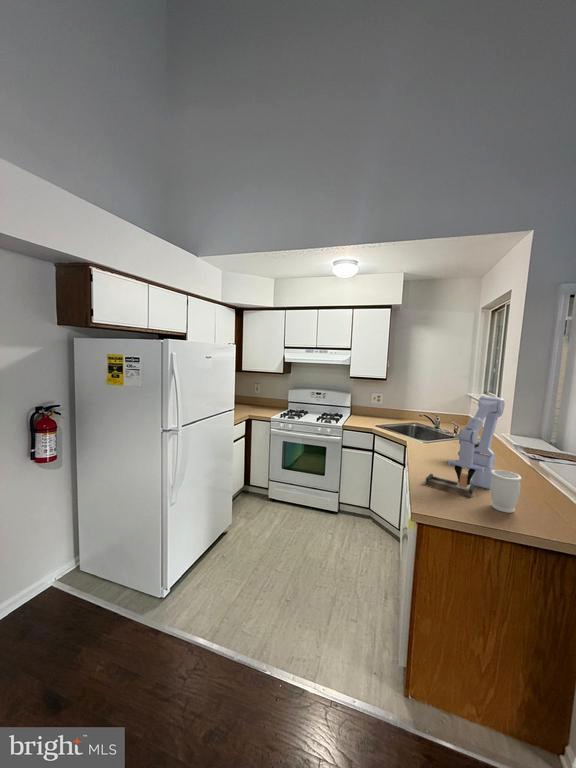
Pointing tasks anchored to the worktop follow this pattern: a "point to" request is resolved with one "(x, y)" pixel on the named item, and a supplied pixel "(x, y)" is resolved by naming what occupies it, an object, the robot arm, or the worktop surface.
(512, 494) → the jar
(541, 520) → the worktop surface
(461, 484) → the block
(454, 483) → the rail board
